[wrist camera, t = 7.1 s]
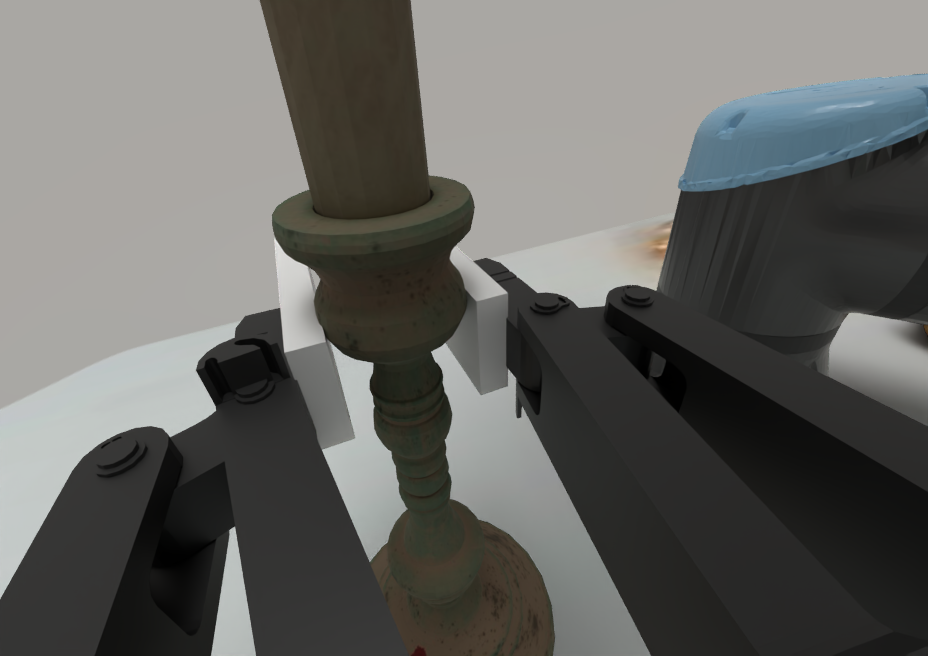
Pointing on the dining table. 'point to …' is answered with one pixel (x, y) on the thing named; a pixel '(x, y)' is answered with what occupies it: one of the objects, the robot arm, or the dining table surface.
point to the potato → (926, 329)
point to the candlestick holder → (397, 312)
